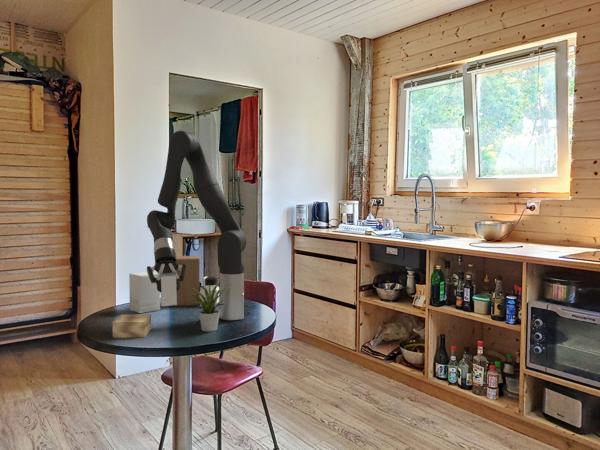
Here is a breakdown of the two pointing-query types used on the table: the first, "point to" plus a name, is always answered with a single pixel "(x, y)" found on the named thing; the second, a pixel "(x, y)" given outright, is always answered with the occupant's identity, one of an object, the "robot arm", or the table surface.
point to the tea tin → (168, 288)
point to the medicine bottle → (212, 282)
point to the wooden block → (188, 280)
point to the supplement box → (143, 293)
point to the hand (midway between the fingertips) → (168, 290)
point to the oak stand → (131, 326)
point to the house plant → (209, 308)
